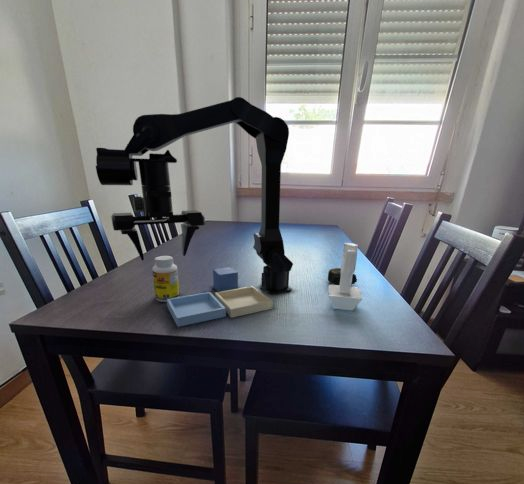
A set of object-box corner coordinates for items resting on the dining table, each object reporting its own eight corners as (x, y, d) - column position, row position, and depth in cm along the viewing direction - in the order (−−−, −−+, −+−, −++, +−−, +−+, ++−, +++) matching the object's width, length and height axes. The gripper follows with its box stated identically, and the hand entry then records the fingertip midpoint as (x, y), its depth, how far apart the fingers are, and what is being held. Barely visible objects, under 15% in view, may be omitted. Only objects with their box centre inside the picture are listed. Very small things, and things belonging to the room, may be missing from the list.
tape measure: (333, 288, 77) (334, 275, 76) (323, 279, 83) (324, 267, 82) (356, 287, 78) (358, 274, 77) (344, 279, 85) (346, 267, 83)
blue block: (230, 284, 78) (230, 267, 77) (237, 290, 74) (237, 272, 73) (213, 286, 76) (212, 269, 74) (220, 293, 72) (219, 275, 70)
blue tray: (210, 299, 69) (210, 291, 68) (225, 316, 60) (225, 308, 60) (167, 307, 64) (166, 299, 63) (177, 327, 56) (176, 318, 55)
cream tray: (252, 293, 73) (252, 285, 72) (272, 308, 64) (272, 300, 64) (214, 300, 68) (214, 292, 67) (231, 317, 60) (231, 309, 59)
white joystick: (356, 299, 70) (366, 240, 65) (360, 316, 62) (371, 249, 56) (327, 296, 72) (333, 238, 66) (326, 312, 63) (334, 247, 58)
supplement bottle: (150, 299, 68) (145, 258, 64) (168, 292, 72) (164, 253, 68) (167, 305, 65) (162, 262, 61) (184, 296, 70) (181, 256, 66)
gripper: (189, 184, 70) (194, 246, 76) (105, 184, 61) (117, 253, 67) (203, 186, 61) (207, 256, 67) (106, 186, 52) (120, 266, 58)
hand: (164, 257), depth 65 cm, fingers open, 9 cm apart
